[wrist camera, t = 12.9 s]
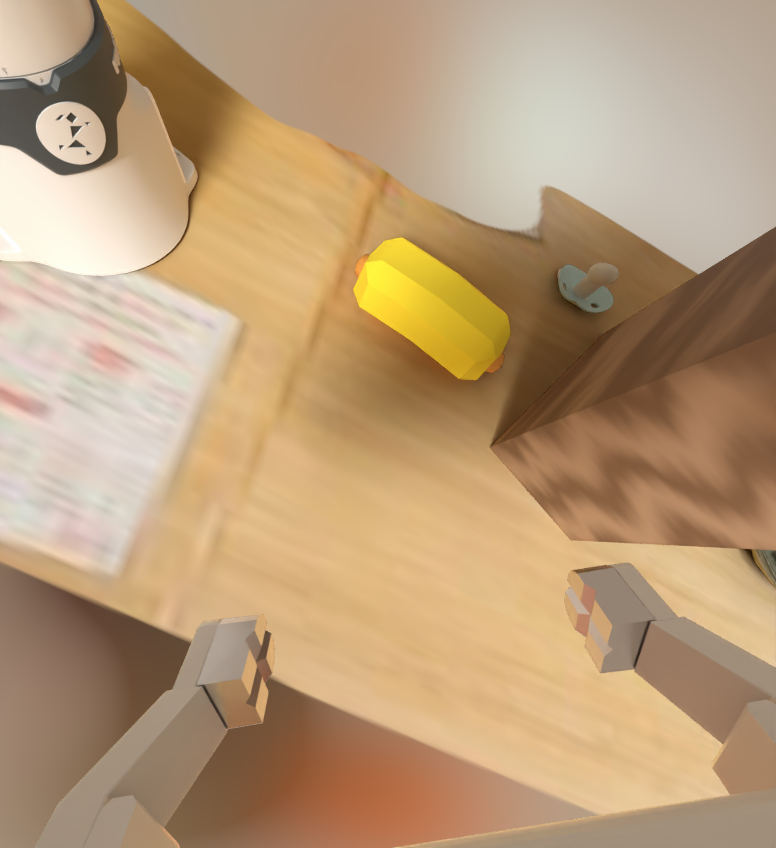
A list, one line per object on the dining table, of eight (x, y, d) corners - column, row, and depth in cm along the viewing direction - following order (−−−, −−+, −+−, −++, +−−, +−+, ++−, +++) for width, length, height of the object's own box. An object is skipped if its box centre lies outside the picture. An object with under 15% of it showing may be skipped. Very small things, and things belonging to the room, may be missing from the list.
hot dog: (374, 250, 40) (332, 297, 37) (389, 199, 34) (340, 251, 31) (507, 349, 41) (475, 401, 38) (545, 317, 35) (511, 376, 32)
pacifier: (556, 261, 46) (543, 294, 44) (594, 221, 41) (582, 257, 38) (604, 291, 47) (594, 325, 45) (649, 256, 41) (639, 294, 39)
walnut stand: (483, 446, 37) (1018, 222, 10) (603, 328, 45) (1078, 24, 18) (571, 547, 36) (1402, 611, 9) (676, 409, 44) (1284, 224, 17)
